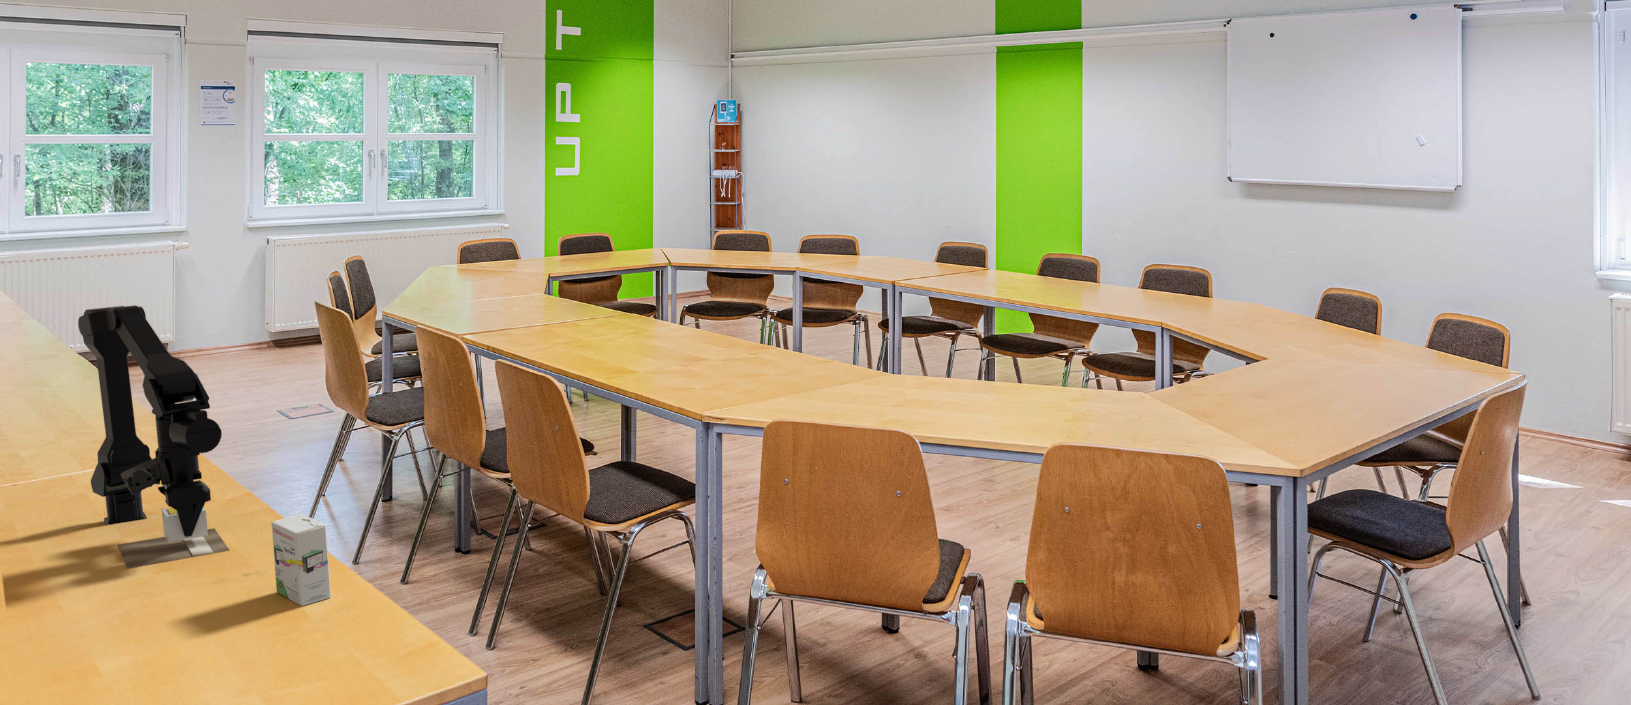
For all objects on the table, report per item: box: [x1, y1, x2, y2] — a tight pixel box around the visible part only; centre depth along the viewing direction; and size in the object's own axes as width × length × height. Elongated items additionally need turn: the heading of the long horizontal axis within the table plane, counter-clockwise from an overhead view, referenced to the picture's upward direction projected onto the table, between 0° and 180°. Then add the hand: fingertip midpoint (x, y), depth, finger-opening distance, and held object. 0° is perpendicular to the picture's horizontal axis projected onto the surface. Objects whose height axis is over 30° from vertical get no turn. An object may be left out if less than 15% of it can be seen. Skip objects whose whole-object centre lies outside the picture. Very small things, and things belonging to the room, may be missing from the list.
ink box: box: [271, 513, 332, 607], centre depth 183 cm, size 8×5×12 cm, turn 49°
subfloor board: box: [117, 527, 230, 570], centre depth 202 cm, size 14×15×1 cm
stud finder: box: [161, 507, 208, 542], centre depth 202 cm, size 5×6×5 cm
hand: (185, 532), depth 203 cm, fingers closed on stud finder, 5 cm apart
